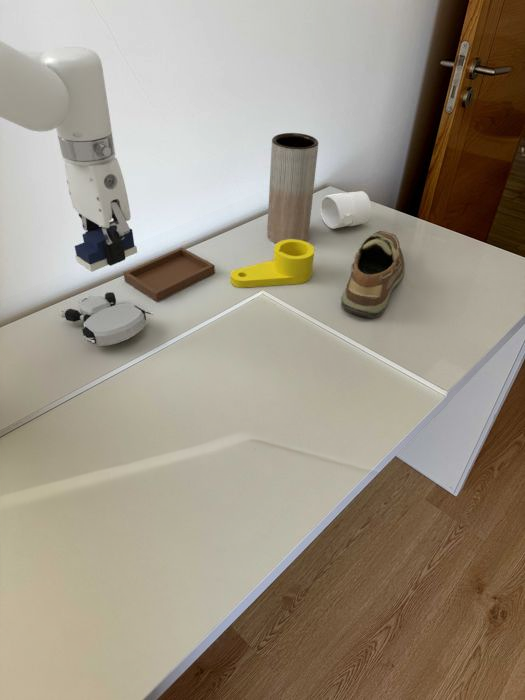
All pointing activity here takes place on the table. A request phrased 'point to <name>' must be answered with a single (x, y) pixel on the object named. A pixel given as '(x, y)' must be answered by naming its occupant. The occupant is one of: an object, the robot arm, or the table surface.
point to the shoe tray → (169, 274)
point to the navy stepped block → (100, 249)
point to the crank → (279, 267)
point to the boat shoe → (374, 275)
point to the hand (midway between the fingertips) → (107, 255)
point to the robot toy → (107, 319)
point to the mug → (345, 209)
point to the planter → (291, 186)
